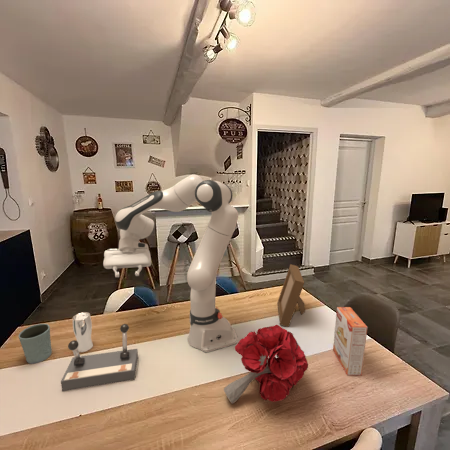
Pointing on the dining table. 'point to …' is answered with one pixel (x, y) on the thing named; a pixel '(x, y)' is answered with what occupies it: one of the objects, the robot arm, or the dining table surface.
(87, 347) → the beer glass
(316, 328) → the dining table surface
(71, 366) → the switch unit
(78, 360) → the lever
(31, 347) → the green plant pot
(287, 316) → the photo frame
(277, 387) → the bouquet
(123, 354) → the lever
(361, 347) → the cracker box
